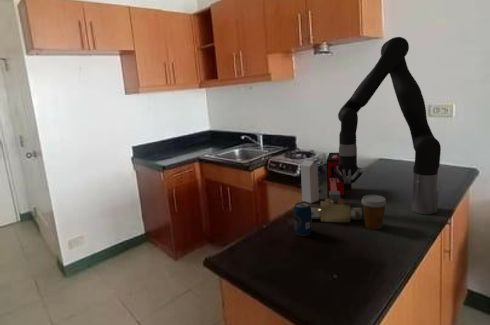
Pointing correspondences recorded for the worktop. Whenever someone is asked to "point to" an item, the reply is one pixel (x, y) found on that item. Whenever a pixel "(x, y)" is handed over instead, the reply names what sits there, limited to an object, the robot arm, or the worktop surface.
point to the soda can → (302, 218)
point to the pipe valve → (336, 211)
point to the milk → (309, 180)
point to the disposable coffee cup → (373, 211)
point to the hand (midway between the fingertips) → (347, 191)
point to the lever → (334, 191)
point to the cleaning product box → (331, 166)
